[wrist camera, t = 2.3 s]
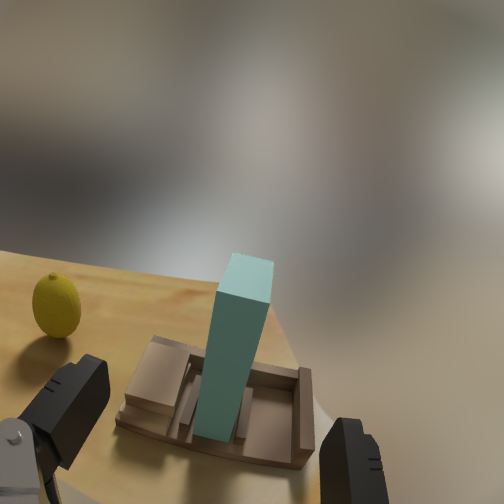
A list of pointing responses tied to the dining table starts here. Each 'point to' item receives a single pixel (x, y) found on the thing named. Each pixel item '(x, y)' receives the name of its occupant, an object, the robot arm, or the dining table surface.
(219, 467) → the dining table surface
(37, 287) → the lemon
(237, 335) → the teal rectangular block
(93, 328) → the dining table surface
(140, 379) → the offcut upper
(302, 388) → the rack
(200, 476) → the dining table surface
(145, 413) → the offcut lower
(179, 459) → the dining table surface
